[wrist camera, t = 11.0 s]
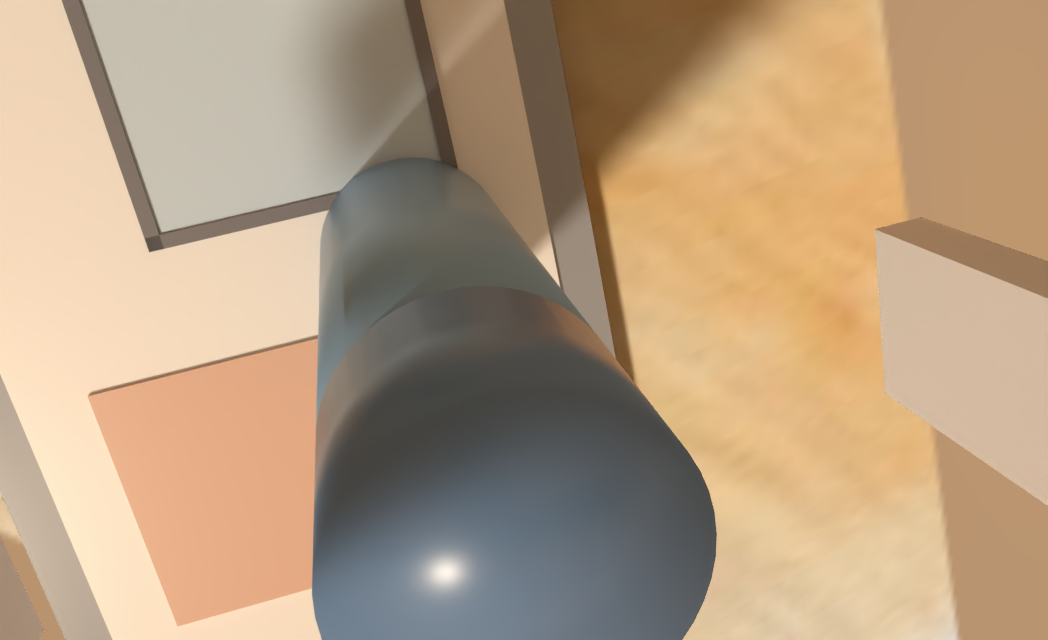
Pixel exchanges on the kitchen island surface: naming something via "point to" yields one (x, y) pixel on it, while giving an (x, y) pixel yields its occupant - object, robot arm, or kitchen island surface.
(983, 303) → the robot arm
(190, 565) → the picture board
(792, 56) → the kitchen island surface
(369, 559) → the grey-blue cylinder
